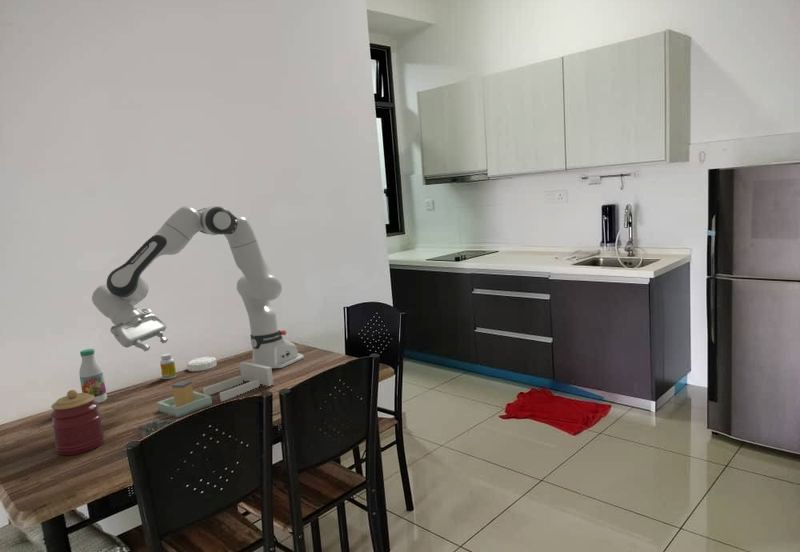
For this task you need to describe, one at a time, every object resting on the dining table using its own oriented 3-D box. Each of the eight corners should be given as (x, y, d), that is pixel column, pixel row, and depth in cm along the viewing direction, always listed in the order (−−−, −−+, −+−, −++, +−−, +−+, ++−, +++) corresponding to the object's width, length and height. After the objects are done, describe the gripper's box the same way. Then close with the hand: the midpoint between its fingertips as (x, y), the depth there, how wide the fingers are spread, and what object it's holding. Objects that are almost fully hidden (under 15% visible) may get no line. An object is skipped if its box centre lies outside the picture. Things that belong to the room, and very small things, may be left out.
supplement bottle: (171, 379, 233) (168, 356, 232) (159, 379, 234) (156, 356, 233) (179, 375, 238) (175, 352, 237) (167, 375, 239) (164, 353, 238)
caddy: (183, 402, 199) (180, 381, 198) (194, 403, 197) (191, 381, 196) (175, 407, 194) (172, 385, 193) (186, 407, 193) (183, 385, 192)
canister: (53, 460, 162) (42, 401, 159) (60, 444, 174) (49, 389, 171) (103, 448, 167) (93, 391, 164) (107, 433, 179) (97, 380, 176)
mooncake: (183, 373, 241) (182, 365, 241) (193, 364, 253) (192, 357, 253) (211, 370, 241) (210, 362, 241) (220, 362, 253) (219, 354, 253)
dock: (246, 378, 223) (243, 361, 222) (273, 385, 212) (271, 367, 211) (199, 394, 209) (197, 376, 208) (226, 402, 197) (223, 383, 196)
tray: (193, 398, 205) (191, 390, 205) (212, 404, 196) (211, 396, 196) (158, 410, 195) (157, 402, 195) (176, 417, 187) (175, 409, 186)
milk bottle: (81, 403, 213) (72, 351, 210) (103, 396, 218) (94, 346, 215) (88, 406, 207) (79, 354, 205) (110, 400, 213) (101, 348, 210)
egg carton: (138, 440, 172) (135, 427, 171) (151, 430, 179) (149, 417, 178) (171, 438, 170) (169, 425, 170) (183, 428, 178) (181, 415, 177)
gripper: (111, 321, 193) (140, 348, 192) (152, 307, 213) (179, 331, 211) (103, 334, 195) (132, 361, 194) (144, 319, 215) (171, 343, 213)
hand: (157, 345), depth 203 cm, fingers open, 8 cm apart
